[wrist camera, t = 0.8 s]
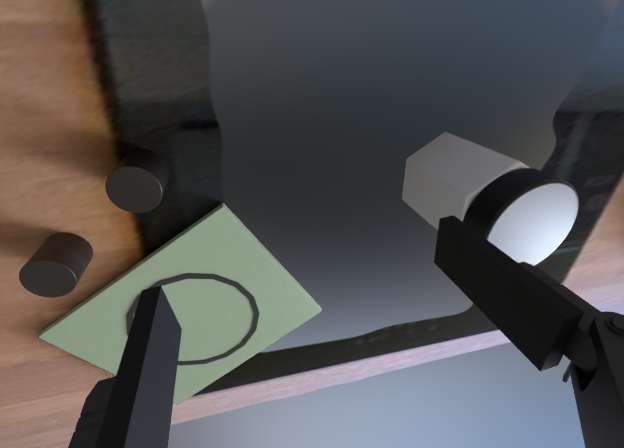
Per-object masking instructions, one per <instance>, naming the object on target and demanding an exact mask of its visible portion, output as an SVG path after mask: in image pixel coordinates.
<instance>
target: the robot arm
mask: <svg viewBox="0 0 624 448" xmlns="http://www.w3.org/2000/svg"><path fill="white" fill-rule="evenodd" d="M434 263H435V264H436V265H437V266H438V267H439V268H440V269H441V270H442V271H443V272H444V273H445V274H446V275H447V276H448V277H449V278H450V279H451V280H452V281H453V282H454V283H455V284H456V285H457V286H458V287H459V288H460V290H462V292H463V293H465V295H466V296H467V297H468V298H469V299H470V300H471V301H472V302H473V303H474V304H475V305H476V306H477V307H478V308H479V309H480V310H481V311H482V312H483V313H484V314H485V315H486V316H487V317H488V318H489V319H490V320H491V321H492V322H493V323H494V324H495V325H496V326H497V327H498V329H499V330H500V331H501V332H502V333H503V334H504V335H505V336H506V337H507V338H508V339H509V340H510V341H511V342H512V343H513V344H514V345H515V346H516V347H517V348H518V349H519V350H520V351H521V352H522V353H523V354H524V355H525V356H526V357H527V358H528V359H529V360H530V361H531V362H532V363H533V364H534V365H535V366H536V367H537V368H538V370H539V371H543V370H546V369H548V368H551V367H554V366H557V365H558V364H559V362H560V360H561V358H562V356H563V354H564V355H565V356H566V357H567V358H568V359H569V360H571V362H570V364H569V366H568V368H567V370H566V372H565V374H564V375H563V381H564V382H567V380H568V378H569V377H570V375H571V379H572V384H573V389H574V394H575V399H576V403H577V409H578V413H579V418H580V423H581V428H582V433H583V438H584V443H585V447H586V448H624V315H621V314H618V313H615V312H601V311H599V310H597V309H596V308H595V307H593V306H592V305H590V304H589V303H587V302H586V301H585V300H583V299H582V298H580V297H579V296H578V295H576V294H575V293H573V292H572V291H571V290H569V289H568V288H566V287H565V286H564V285H560V283H559V282H558V281H556V280H555V279H554V278H551V277H550V276H549V275H548V274H547V273H545V272H544V271H542V270H541V269H540V268H538V267H536V266H533V265H531V264H528V263H526V262H521V263H518V262H516V261H515V260H514V259H512V258H511V257H509V256H508V255H507V254H505V253H504V252H503V251H501V250H500V249H499V248H497V247H496V246H495V245H493V244H492V243H491V242H489V241H488V240H487V239H485V238H484V237H482V236H481V235H480V234H478V233H477V232H476V231H474V230H473V229H472V228H470V227H469V226H468V225H466V224H465V223H464V222H462V221H461V220H460V219H458V218H457V217H455V216H454V215H452V216H448V217H444V218H440V220H439V227H438V236H437V244H436V251H435V260H434ZM181 333H182V328H181V326H180V324H179V322H178V320H177V318H176V316H175V314H174V312H173V310H172V308H171V305H170V303H169V301H168V299H167V297H166V295H165V293H164V291H163V289H162V287H161V286H157V287H153V288H149V289H145V290H142V292H141V295H140V298H139V302H138V305H137V308H136V312H135V315H134V318H133V321H132V325H131V328H130V331H129V335H128V338H127V341H126V345H125V348H124V351H123V355H122V358H121V361H120V365H119V368H118V371H117V375H116V376H115V377H112V378H108V379H105V380H101V381H98V383H97V384H96V385H95V387H94V388H93V389H92V391H91V392H90V394H89V395H88V396H87V398H86V401H85V403H84V406H83V409H82V411H81V414H80V415H81V417H80V418H79V420H78V422H77V425H76V428H75V429H76V431H75V432H74V433H73V436H72V439H71V442H70V444H69V447H68V448H167V447H168V439H169V430H170V423H171V414H172V406H173V398H174V390H175V382H176V373H177V365H178V357H179V349H180V341H181Z"/></svg>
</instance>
